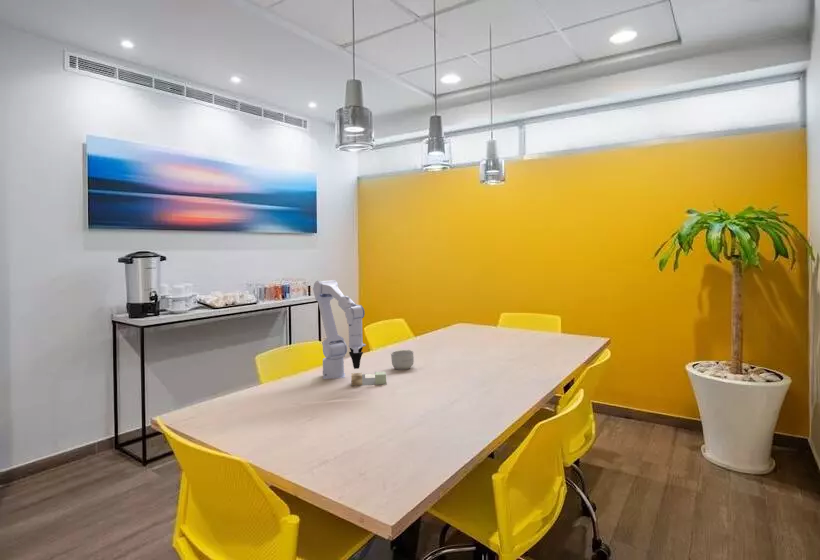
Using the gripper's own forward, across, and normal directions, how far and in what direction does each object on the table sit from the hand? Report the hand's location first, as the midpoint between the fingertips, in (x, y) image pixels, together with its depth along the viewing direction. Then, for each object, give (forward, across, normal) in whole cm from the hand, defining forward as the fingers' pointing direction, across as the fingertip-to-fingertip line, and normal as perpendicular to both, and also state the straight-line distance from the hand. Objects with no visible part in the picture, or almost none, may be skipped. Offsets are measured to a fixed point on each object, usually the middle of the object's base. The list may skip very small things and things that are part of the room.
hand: (356, 366), depth 200 cm
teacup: (+8, +24, -22) cm, 34 cm away
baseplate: (+8, +6, -5) cm, 11 cm away
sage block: (+8, 0, -10) cm, 13 cm away
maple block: (+8, 0, 0) cm, 8 cm away
